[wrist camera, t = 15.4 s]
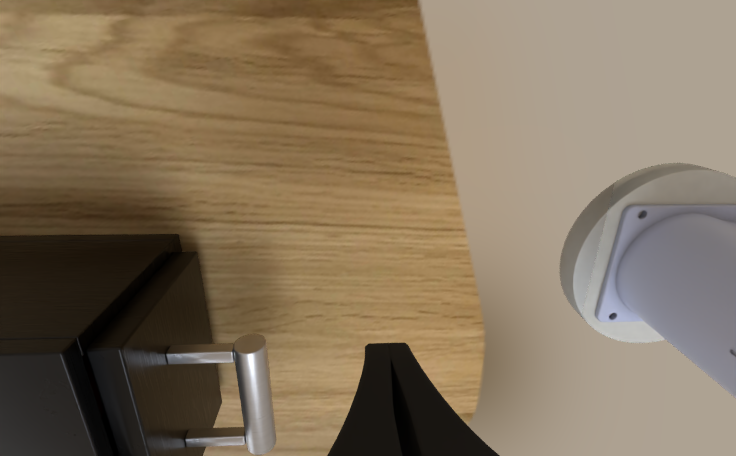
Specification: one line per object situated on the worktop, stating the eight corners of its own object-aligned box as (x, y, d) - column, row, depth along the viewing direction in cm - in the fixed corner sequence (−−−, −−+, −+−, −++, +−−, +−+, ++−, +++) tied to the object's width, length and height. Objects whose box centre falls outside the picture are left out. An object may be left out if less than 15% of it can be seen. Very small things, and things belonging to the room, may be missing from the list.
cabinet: (179, 233, 21) (61, 353, 12) (208, 398, 26) (137, 574, 17) (-91, 236, 20) (-426, 366, 12) (-14, 406, 25) (-212, 595, 16)
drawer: (278, 249, 21) (245, 345, 14) (290, 399, 25) (269, 535, 18) (-56, 253, 20) (-282, 359, 13) (11, 409, 24) (-133, 557, 17)
